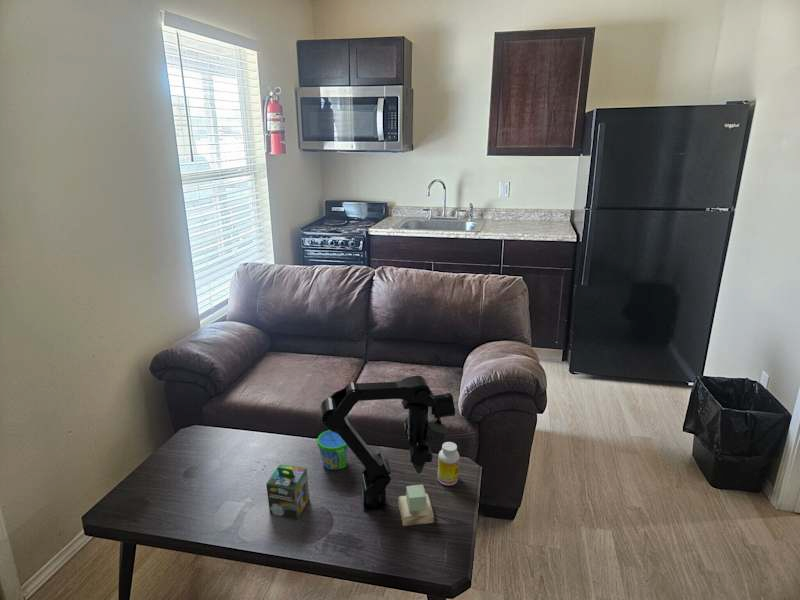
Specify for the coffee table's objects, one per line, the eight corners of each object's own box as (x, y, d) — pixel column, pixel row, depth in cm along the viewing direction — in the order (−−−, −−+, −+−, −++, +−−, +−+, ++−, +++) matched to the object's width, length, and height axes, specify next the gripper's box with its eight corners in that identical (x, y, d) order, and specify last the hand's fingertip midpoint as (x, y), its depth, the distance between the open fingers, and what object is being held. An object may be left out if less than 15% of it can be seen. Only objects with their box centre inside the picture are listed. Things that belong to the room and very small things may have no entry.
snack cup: (356, 474, 168) (355, 448, 165) (325, 482, 164) (323, 456, 161) (342, 447, 182) (342, 422, 178) (313, 453, 178) (312, 428, 174)
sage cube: (408, 512, 149) (409, 498, 147) (406, 499, 153) (406, 486, 152) (425, 510, 150) (426, 496, 148) (422, 498, 154) (422, 484, 152)
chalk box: (310, 498, 158) (307, 458, 152) (297, 520, 149) (294, 478, 144) (282, 493, 160) (278, 453, 154) (268, 514, 151) (264, 473, 146)
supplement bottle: (456, 487, 163) (459, 454, 158) (436, 484, 164) (437, 451, 160) (459, 474, 169) (461, 441, 164) (438, 471, 170) (440, 438, 166)
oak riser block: (403, 525, 148) (403, 517, 147) (398, 503, 156) (398, 495, 155) (433, 522, 149) (434, 514, 148) (427, 500, 157) (427, 492, 156)
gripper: (451, 436, 141) (449, 482, 146) (440, 400, 158) (438, 442, 164) (411, 438, 140) (410, 484, 145) (404, 401, 157) (404, 444, 163)
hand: (417, 462), depth 154 cm, fingers open, 9 cm apart
